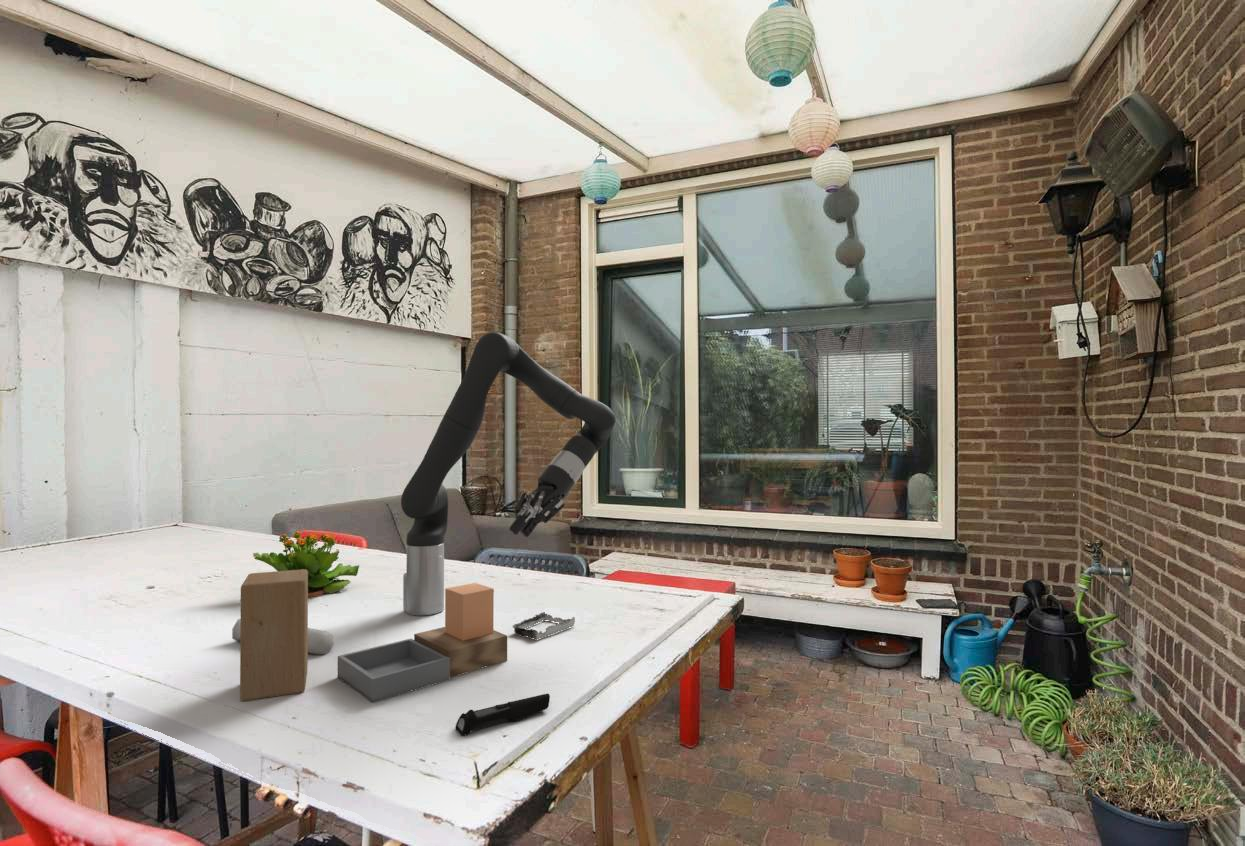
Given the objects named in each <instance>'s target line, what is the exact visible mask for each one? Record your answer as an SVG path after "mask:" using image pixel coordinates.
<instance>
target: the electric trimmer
mask: <svg viewBox="0 0 1245 846" xmlns="http://www.w3.org/2000/svg"><path fill="white" fill-rule="evenodd" d="M550 697H551V695H550V693H543V694H539V695H534V696H530V697H527V698H521V699H516V700H512V701H507V702H505V703H501V704H496V705H494V706H489V707H485V708H481V709H477V710H473V709H469V710H468V711H467V712H466V713H465V712H463V713H461V715H460V716H459V717H458V719H457V721H456V724H455V727H454V728H455V731H457V733H458V734H459V735H460V736H469V735H470V734H471V733H472V732H474V731H477V730H480V729H485V728H487V727H492V726H494V725H497V724H498V725H499V724H500V723H504V722H508V721H510V722H517V721H520V720H522V719H525V718H527V717H529V716H530V717H531V716H533V715H535V714H538V713H540V712H543V711H546V710H547V709H548V708H549V706H550Z"/></svg>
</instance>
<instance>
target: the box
mask: <svg viewBox="0 0 1245 846" xmlns="http://www.w3.org/2000/svg"><path fill="white" fill-rule="evenodd" d="M337 679H340V681H342V682H344V684H346V685H347V686H349V687H350V688H351V689H353V690H354V691H356V692H357V693H359V694H360V695H361V696H362V697H364V698H365V699H366V700H368V701H369V702H370V703H372V704H373V703H376V702H379V701H383V700H386V698H387V699H389V697H390V698H393V697H397V696H400V695H403V694H406V692H407V693H409V691H410V692H412V691H411V690H413V691H415V689H417V690H419V688H420V689H423V688H427V687H429V686H428V685H430V686H433V685H436V684H439V682H440V683H443V682H445V681H450V680H449V679H451V677H450V658H449V657H447V656H445V655H443V654H441V653H439V652H437V651H435V650H433V649H431V648H429V647H427V646H425V645H423V644H421V643H419V642H417V641H415V640H414V638H407V639H403V640H399V641H394V642H391V643H386V644H382V645H377V646H373V647H369V648H365V649H360V650H357V651H352V652H348V653H344V654H339V655H337ZM442 681H443V682H442ZM435 683H436V684H435ZM432 684H433V685H432ZM426 686H427V687H426ZM422 687H423V688H422ZM402 693H403V694H402ZM399 694H400V695H399ZM396 695H397V696H396Z"/></svg>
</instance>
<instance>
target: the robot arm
mask: <svg viewBox="0 0 1245 846" xmlns="http://www.w3.org/2000/svg"><path fill="white" fill-rule="evenodd" d="M500 372H502V373H505V374H507V375H509V376H511V377H512V378H514V379H516V380H518V381H519V382H521V383H522V384H524V385H525V386H526V387H527V388H529V389H530V391H532V392H533V393H534V394H535V395H536V396H537V397H538V398H539V399H540V400H541V401H542V402H544V403H545V404H546V405H547V406H549V407H550V408H551V409H552V410H554V411H555V412H556V413H557V414H559V415H561V416H562V417H564V418H566V419H567V420H573V419H576V418H577V419H578V420H581V421H583V422H584V424H583V425H582V427H581V429H580V430H579V432H578V433H577V434H576V435H573V436H572V437H571V438H569V440H568V441H567V442H566V443H565V445H564V446H563V448H561V450H560V451H559V452H558V453H557V454H556V456H554V457H553V458H552V460H551V461H550V463H549V464H548V465H547V466H546V468H545V469H544V470H543V472H542V473H541V474H540V476H539V477H538V478H537V487H536V488H535V489H534V490H533V491H532V493H530V494H528V493H527V492H523V493H522V495H521V496H520V498H519V501H518V503H517V505H516V507H515V510H514V513H515V514H516V516H517V517H516V518H515V519H514V521H513V523H512V524H510V527H509V529H508V530H509V531H510V532H511V533H512V535H516V536H517V535H518V533H519V532H520V533H521V534H522V536H524V537H526V538H528V537H529V536H531V534H532V533H533V531H534V530H535V528H537V525H541V524H542V523H543V524H547V523H548V522H549V521H550V520H551V519H552V518H553V517H555V515H557V513H559V512H560V511H561V510H562V509H563V508H564V507H565V506H566V504H565V503H564V502H563V500H564V499H565V498H566V497H567V496H568V494H569V493H570V492H571V490H572V489H573V487H574V486H575V485H576V484H577V482H578V480H579V479H580V477H582V474H583V472H584V470H585V469H586V468H587V466H588V465H589V463H590V462H591V461H592V459H593V458H594V456H595V454H597V453H598V451H600V449H601V448H602V447H604V445H605V444H606V443H607V442H608V439H610V436H611V434H612V432H613V431H614V426H615V425H616V416H615V412H613V411H612V409H611V408H610V407H609V406H608V405H606V404H604V403H603V402H601V401H599V400H596V399H594V398H592V397H589V396H586V395H584V394H582V393H580V392H579V391H578V390H577V389H575V388H573V387H572V386H570V385H569V384H568V383H566V382H565V381H564V380H562V379H561V378H559V377H558V376H556V375H555V374H553V373H551V372H550V371H548V370H547V369H545V368H544V367H542V366H541V365H540V364H539V363H538V362H536V361H535V360H534V359H533V358H532V357H531V356H530V355H528V353H526V352H525V350H524V349H523V348H521V346H520V345H519V344H518V343H517V342H516V341H515V340H514V339H513V338H512V337H510V336H508V335H507V334H506V335H505V334H503V333H500V332H498V331H495V332H494V331H491V332H487V333H486V334H483V335H482V336H481V337H480V338H479V339H478V341H477V343H476V345H475V346H474V348H473V352H472V354H471V356H470V359H469V362H468V365H467V367H466V371H465V373H464V375H463V378H462V380H461V382H460V384H459V386H458V387H457V390H456V391H455V393H454V396H453V397H452V400H451V402H450V404H449V405H448V407H447V409H446V411H445V414H444V415H443V417H442V419H441V421H440V423H439V425H438V427H437V429H436V432H435V434H434V436H433V438H432V440H431V442H430V443H429V446H428V448H427V450H426V452H425V454H424V456H423V458H422V460H421V461H420V464H419V466H417V469H416V471H415V472H414V474H413V475H412V477H411V478H410V480H409V481H408V483H407V484H406V486H405V488H404V489H403V492H402V494H401V498H400V506H401V510H402V511H403V513H404V515H406V516H407V517H408V518H411V519H413V524H412V526H411V528H410V530H409V531H408V532H407V534H406V572H404V574H403V577H402V578H403V579H402V581H403V582H402V583H403V587H402V589H403V591H402V593H403V595H402V598H403V599H402V605H403V606H402V610H403V612H406V613H407V614H408V615H411V616H430V615H435V614H438V613H442V612H443V611H445V536H446V533H447V530H448V517H449V495H448V491H447V489H446V487H445V486H444V485H443V482H444V480H445V478H446V477H447V475H448V473H449V472H450V471H451V469H453V468H454V466H455V465H456V464H457V463H458V461H459V460H460V459H461V458H462V457H463V456H464V455H465V453H466V452H467V451H468V450H469V448H470V447H471V445H472V444H473V442H474V441H475V439H476V436H477V434H478V432H479V430H480V428H481V426H482V423H483V420H484V417H485V411H486V406H487V398H488V395H489V392H490V390H491V387H492V386H493V384H494V382H495V380H496V378H497V377H498V375H499V373H500Z"/></svg>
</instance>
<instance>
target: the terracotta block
mask: <svg viewBox="0 0 1245 846" xmlns="http://www.w3.org/2000/svg"><path fill="white" fill-rule="evenodd" d="M494 589H495V588H493V587H489V586H487V585H483V584H480V583H477V582H472V583H467V584H461V585H457V586H451V587H446V588H445V587H444V614H445V615H444V616H445V618H444V620H445V621H444V625H445V626H444V627H445V633H447V634H450V635H452V636H454V637H456V638H458V639H461V640H463V641H464V640H467V639H471V638H475V637H479V636H483V635H487V634H491V633H493V630H494V608H495V607H494V605H495V604H494V599H495V598H494V594H495V593H494Z"/></svg>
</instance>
